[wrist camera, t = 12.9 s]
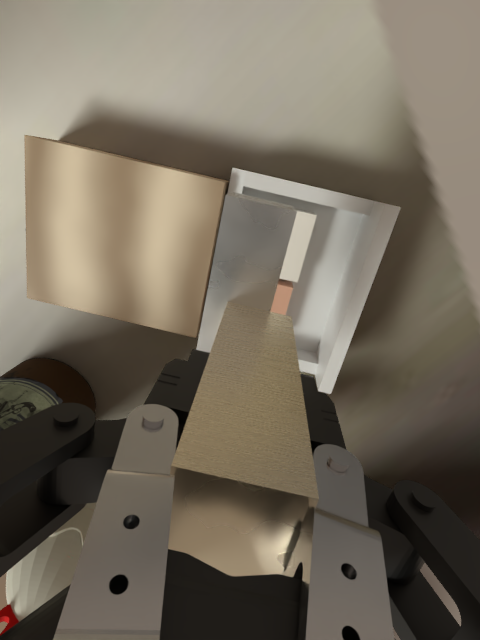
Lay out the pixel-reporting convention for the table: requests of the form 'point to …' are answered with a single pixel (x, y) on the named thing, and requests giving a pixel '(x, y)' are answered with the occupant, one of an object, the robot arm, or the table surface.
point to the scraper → (245, 408)
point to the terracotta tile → (282, 296)
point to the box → (327, 266)
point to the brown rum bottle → (40, 389)
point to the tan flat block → (119, 235)
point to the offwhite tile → (298, 245)
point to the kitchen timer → (45, 569)
